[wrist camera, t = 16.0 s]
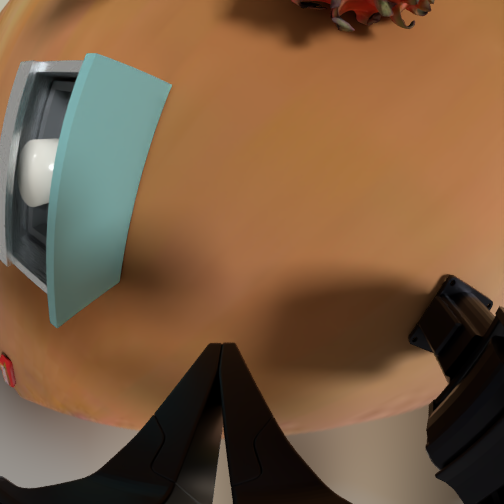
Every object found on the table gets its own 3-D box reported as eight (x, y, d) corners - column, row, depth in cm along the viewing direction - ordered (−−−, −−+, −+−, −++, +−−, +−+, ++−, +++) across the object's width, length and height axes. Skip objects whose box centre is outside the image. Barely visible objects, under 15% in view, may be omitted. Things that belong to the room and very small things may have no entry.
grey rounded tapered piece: (95, 144, 18) (54, 146, 13) (83, 204, 20) (44, 216, 15) (60, 133, 18) (22, 134, 14) (50, 186, 20) (14, 195, 16)
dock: (163, 83, 16) (100, 58, 10) (113, 276, 23) (59, 314, 16) (74, 72, 17) (17, 62, 10) (43, 230, 23) (-7, 251, 16)
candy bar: (17, 385, 45) (11, 391, 42) (9, 376, 45) (3, 381, 42) (13, 360, 39) (5, 367, 37) (4, 349, 39) (-4, 355, 36)
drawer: (172, 84, 16) (96, 53, 8) (119, 281, 22) (57, 328, 15) (79, 72, 17) (10, 60, 9) (46, 234, 23) (-12, 260, 15)
